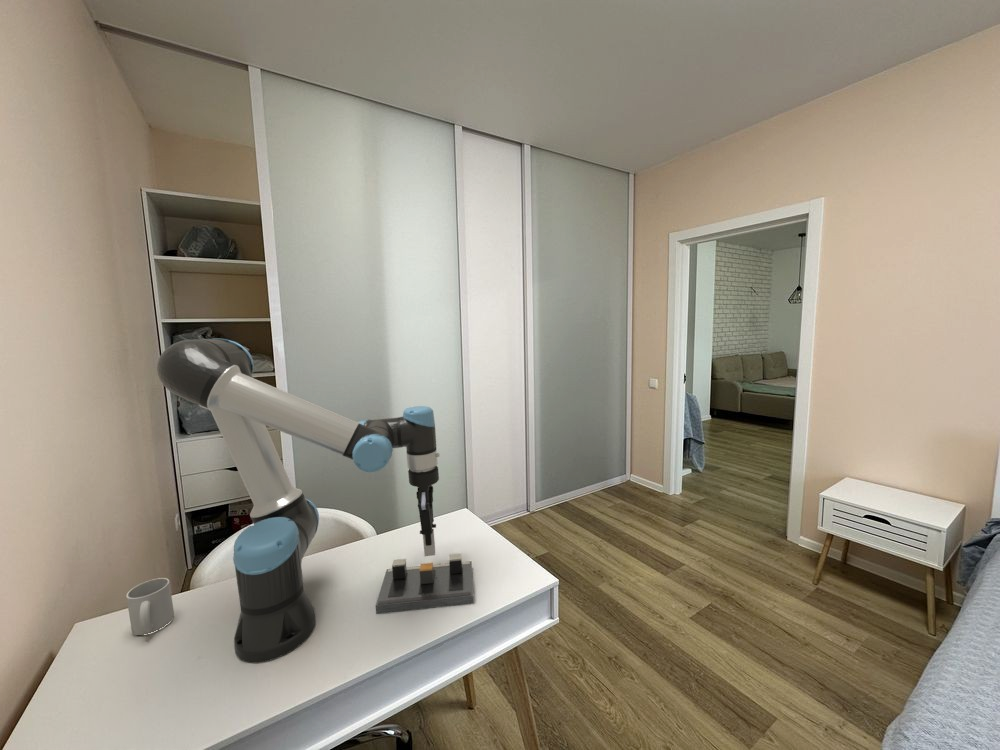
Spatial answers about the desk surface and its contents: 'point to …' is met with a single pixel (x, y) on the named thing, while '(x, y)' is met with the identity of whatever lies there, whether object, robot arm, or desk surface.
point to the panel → (426, 586)
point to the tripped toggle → (426, 573)
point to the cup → (150, 606)
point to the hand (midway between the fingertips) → (430, 554)
